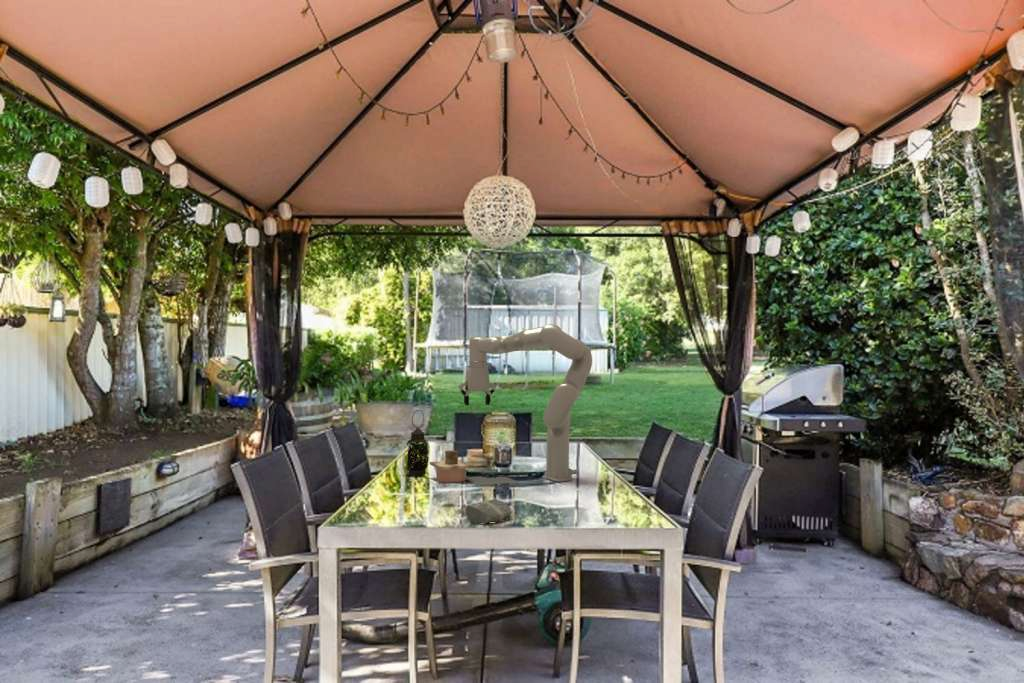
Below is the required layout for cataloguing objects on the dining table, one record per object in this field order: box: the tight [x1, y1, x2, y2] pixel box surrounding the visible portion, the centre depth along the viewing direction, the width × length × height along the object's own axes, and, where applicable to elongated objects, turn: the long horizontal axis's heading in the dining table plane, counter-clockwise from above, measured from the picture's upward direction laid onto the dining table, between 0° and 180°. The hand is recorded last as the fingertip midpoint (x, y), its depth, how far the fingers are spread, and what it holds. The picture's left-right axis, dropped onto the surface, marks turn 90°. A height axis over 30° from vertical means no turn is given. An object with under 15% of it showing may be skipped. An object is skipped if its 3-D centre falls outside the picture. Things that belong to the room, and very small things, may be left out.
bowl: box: [435, 468, 467, 483], centre depth 296 cm, size 11×11×7 cm
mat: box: [465, 475, 519, 486], centre depth 297 cm, size 18×18×1 cm
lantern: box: [406, 409, 430, 478], centre depth 311 cm, size 10×9×28 cm
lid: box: [429, 450, 475, 470], centre depth 296 cm, size 14×14×6 cm
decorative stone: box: [465, 498, 512, 525], centre depth 231 cm, size 13×10×6 cm
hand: (477, 404), depth 314 cm, fingers open, 9 cm apart
